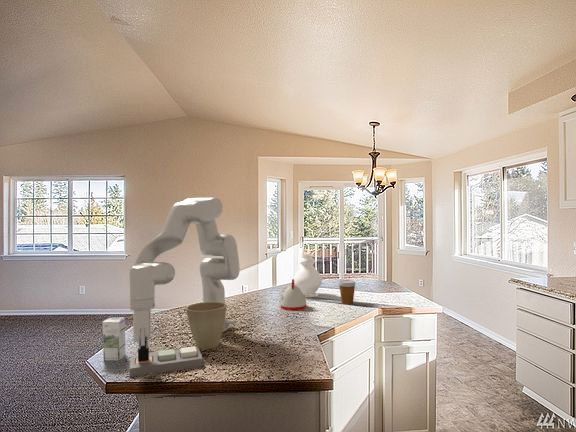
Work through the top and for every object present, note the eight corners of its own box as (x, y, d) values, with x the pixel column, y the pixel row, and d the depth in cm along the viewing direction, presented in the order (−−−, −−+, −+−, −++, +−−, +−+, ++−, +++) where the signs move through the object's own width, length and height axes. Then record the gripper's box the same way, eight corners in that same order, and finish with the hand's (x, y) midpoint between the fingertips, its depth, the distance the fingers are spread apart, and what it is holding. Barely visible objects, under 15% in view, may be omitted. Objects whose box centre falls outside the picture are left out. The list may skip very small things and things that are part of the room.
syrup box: (126, 357, 138) (125, 316, 138) (119, 363, 132) (118, 321, 132) (110, 357, 138) (109, 317, 138) (102, 363, 132) (101, 321, 132)
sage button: (174, 356, 130) (174, 349, 130) (175, 361, 126) (174, 353, 126) (158, 358, 129) (158, 351, 129) (158, 363, 124) (158, 356, 124)
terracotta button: (152, 363, 128) (152, 356, 128) (152, 369, 123) (152, 361, 123) (136, 366, 126) (136, 358, 126) (135, 371, 122) (135, 363, 122)
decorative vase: (327, 293, 241) (326, 254, 241) (313, 299, 226) (312, 256, 226) (302, 291, 251) (301, 253, 251) (288, 296, 236) (287, 255, 236)
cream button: (195, 353, 133) (195, 346, 133) (196, 358, 128) (196, 351, 128) (180, 355, 131) (180, 348, 131) (181, 360, 126) (181, 353, 126)
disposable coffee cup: (357, 304, 210) (356, 282, 210) (339, 305, 210) (339, 283, 210) (354, 300, 220) (354, 279, 220) (337, 301, 220) (337, 280, 220)
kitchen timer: (307, 304, 214) (306, 277, 214) (305, 310, 200) (305, 281, 200) (282, 304, 215) (281, 277, 215) (279, 310, 201) (278, 281, 202)
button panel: (198, 356, 136) (198, 346, 136) (202, 369, 125) (202, 358, 125) (132, 366, 129) (131, 355, 129) (129, 380, 118) (129, 368, 118)
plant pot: (210, 339, 156) (209, 300, 156) (235, 346, 146) (234, 304, 146) (178, 349, 144) (177, 307, 144) (204, 358, 135) (203, 312, 135)
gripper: (131, 300, 131) (132, 354, 130) (128, 309, 116) (129, 370, 116) (154, 298, 133) (155, 351, 133) (154, 307, 119) (155, 366, 119)
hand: (143, 360), depth 125 cm, fingers closed
